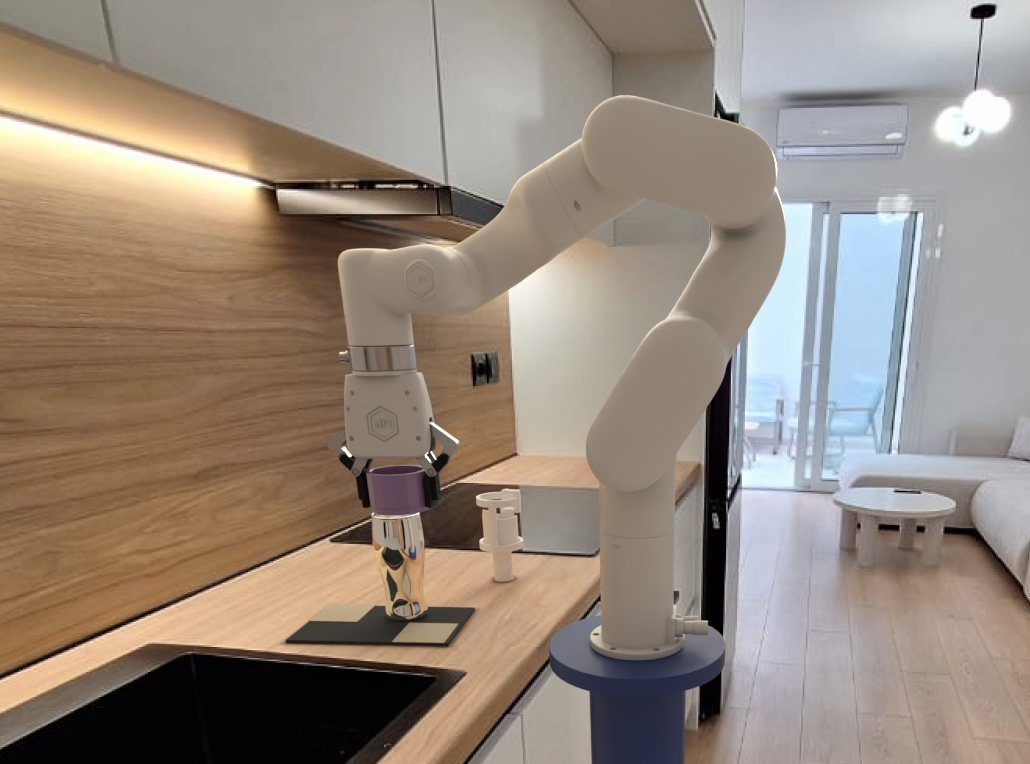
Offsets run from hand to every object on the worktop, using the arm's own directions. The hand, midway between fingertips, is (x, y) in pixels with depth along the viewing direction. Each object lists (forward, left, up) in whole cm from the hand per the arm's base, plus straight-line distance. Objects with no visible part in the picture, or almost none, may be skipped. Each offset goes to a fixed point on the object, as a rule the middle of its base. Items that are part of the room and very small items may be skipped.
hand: (401, 504), depth 104 cm
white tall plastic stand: (-6, -26, -18) cm, 32 cm away
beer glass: (+4, -7, -18) cm, 20 cm away
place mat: (+6, -4, -18) cm, 19 cm away
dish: (0, 0, 0) cm, 0 cm away
